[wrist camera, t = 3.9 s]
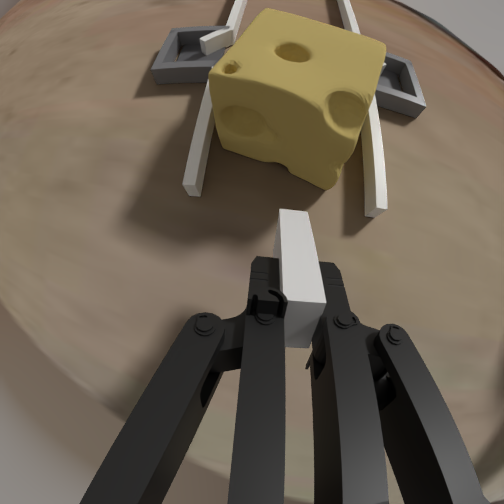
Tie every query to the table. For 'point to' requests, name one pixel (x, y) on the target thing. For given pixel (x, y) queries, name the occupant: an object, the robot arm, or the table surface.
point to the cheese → (295, 93)
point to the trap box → (196, 71)
